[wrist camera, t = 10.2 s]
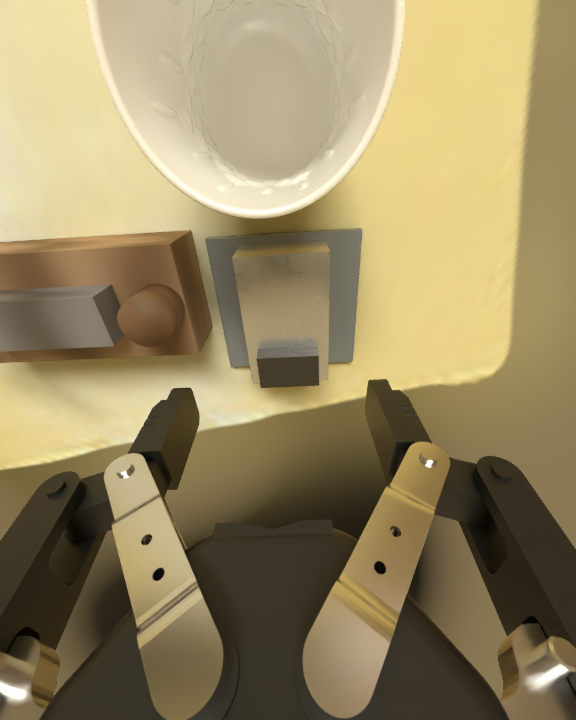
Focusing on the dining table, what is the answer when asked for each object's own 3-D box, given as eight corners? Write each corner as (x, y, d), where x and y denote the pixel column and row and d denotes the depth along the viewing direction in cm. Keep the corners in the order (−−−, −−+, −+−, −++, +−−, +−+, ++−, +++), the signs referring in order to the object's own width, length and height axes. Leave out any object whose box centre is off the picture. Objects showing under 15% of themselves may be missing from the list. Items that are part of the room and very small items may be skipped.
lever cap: (239, 245, 19) (228, 263, 16) (324, 239, 19) (332, 256, 15) (256, 360, 24) (250, 393, 21) (324, 357, 24) (330, 390, 20)
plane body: (4, 336, 24) (-119, 409, 17) (-57, 245, 20) (-250, 290, 13) (212, 326, 23) (177, 398, 16) (190, 230, 19) (131, 268, 12)
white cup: (322, 207, 18) (347, 241, 10) (194, 177, 18) (107, 188, 9) (365, 26, 14) (472, -174, 6) (199, -24, 13) (43, -341, 5)
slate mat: (232, 362, 25) (231, 366, 24) (207, 237, 19) (205, 239, 19) (351, 357, 25) (352, 361, 24) (360, 228, 19) (362, 229, 18)
